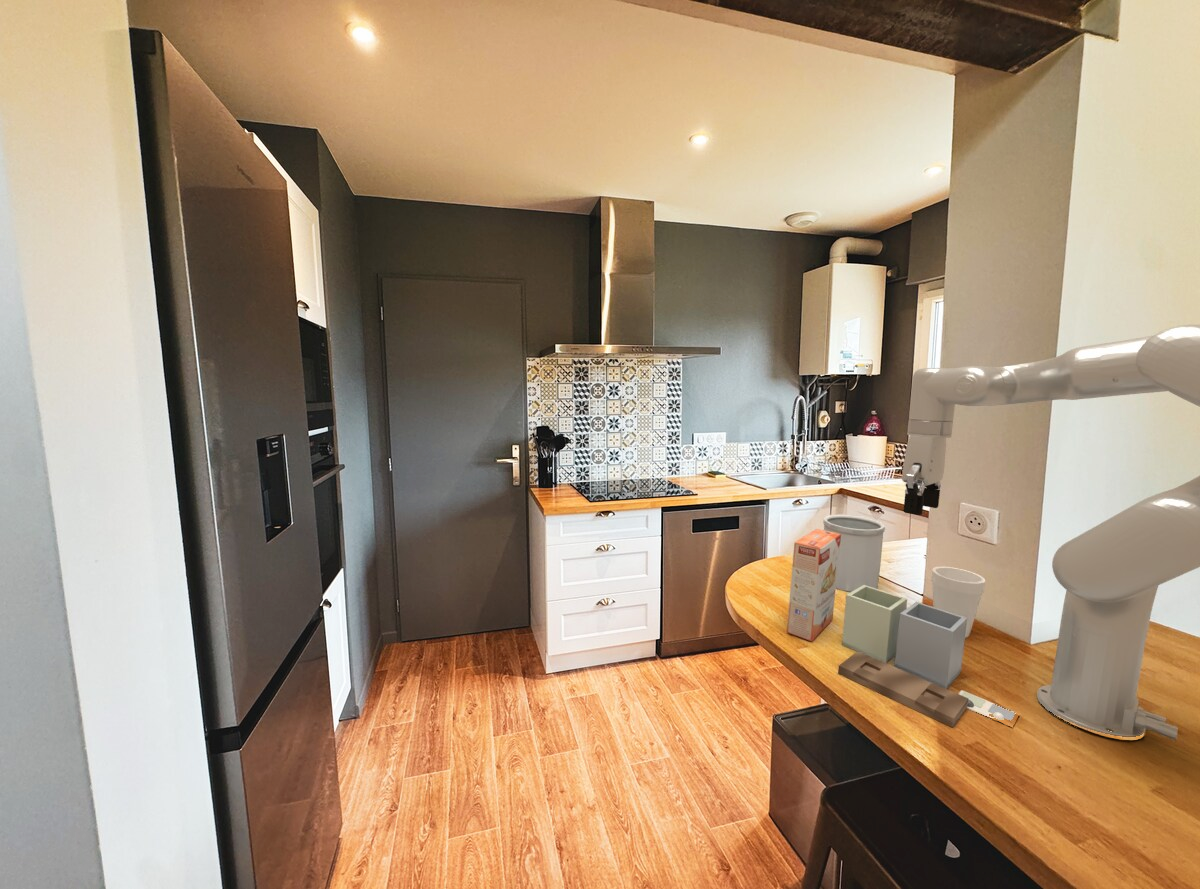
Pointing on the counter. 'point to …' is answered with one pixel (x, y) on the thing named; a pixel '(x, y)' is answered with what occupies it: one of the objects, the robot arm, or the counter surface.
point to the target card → (986, 707)
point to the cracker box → (813, 583)
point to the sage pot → (872, 622)
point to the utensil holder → (857, 550)
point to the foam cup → (957, 592)
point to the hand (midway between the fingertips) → (921, 510)
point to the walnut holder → (905, 688)
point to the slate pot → (930, 643)
